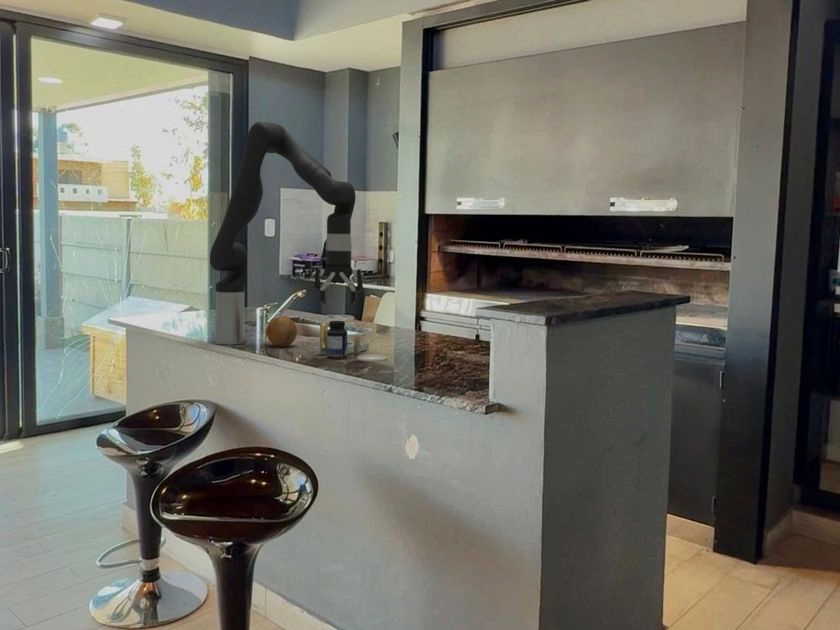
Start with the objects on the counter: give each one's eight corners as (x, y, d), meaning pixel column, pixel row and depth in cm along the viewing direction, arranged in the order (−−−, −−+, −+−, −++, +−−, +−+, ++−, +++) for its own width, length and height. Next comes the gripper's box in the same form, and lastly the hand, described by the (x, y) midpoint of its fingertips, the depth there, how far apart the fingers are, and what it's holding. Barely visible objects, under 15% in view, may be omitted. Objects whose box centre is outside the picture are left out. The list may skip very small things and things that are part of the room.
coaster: (358, 361, 226) (358, 359, 226) (355, 356, 235) (355, 354, 235) (388, 361, 227) (388, 359, 227) (385, 356, 236) (385, 354, 236)
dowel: (354, 356, 235) (354, 336, 234) (353, 355, 236) (354, 336, 236) (360, 356, 235) (360, 336, 234) (359, 355, 237) (359, 336, 236)
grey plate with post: (340, 345, 253) (340, 317, 252) (368, 349, 246) (369, 320, 245) (302, 352, 239) (302, 322, 238) (331, 356, 232) (331, 326, 231)
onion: (285, 343, 258) (285, 313, 257) (303, 347, 251) (303, 316, 250) (260, 346, 251) (260, 315, 250) (278, 349, 244) (278, 318, 243)
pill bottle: (337, 355, 236) (337, 319, 235) (351, 357, 232) (351, 321, 231) (322, 357, 231) (322, 321, 230) (336, 360, 227) (337, 323, 226)
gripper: (312, 249, 225) (312, 304, 227) (360, 250, 224) (359, 305, 226) (318, 248, 233) (318, 301, 234) (364, 249, 231) (364, 303, 233)
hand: (338, 303), depth 230 cm, fingers open, 8 cm apart
